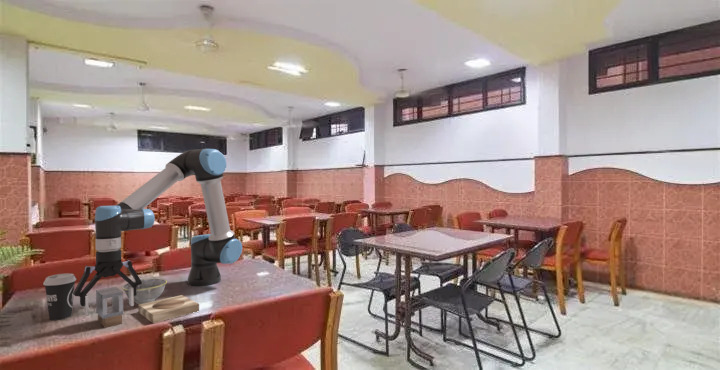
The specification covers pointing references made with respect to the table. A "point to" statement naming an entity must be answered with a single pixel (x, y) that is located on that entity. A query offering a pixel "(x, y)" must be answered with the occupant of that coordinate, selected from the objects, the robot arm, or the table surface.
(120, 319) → the stand
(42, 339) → the table surface
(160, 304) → the plate
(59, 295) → the coffee cup
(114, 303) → the housing
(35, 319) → the table surface
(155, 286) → the bowl
